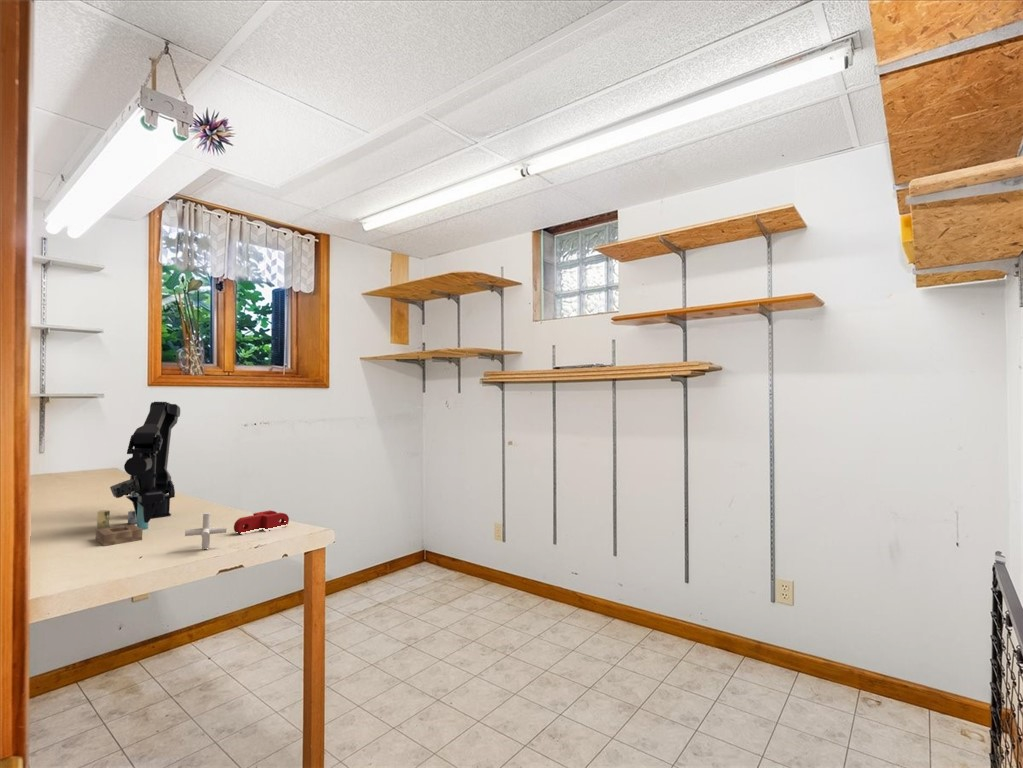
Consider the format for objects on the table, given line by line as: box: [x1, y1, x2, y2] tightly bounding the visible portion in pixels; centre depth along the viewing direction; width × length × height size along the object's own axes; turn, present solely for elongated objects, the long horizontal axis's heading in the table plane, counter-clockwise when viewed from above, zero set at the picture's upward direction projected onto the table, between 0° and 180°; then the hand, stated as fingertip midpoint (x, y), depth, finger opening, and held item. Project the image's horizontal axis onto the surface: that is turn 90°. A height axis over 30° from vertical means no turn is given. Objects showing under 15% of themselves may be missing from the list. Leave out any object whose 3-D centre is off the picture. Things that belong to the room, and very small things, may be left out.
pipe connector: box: [184, 511, 228, 550], centre depth 149 cm, size 10×10×10 cm
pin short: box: [127, 510, 137, 526], centre depth 174 cm, size 3×3×4 cm
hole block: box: [95, 524, 143, 547], centre depth 155 cm, size 9×9×3 cm
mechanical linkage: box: [233, 510, 290, 534], centre depth 170 cm, size 16×7×5 cm, turn 149°
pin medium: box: [96, 509, 111, 529], centre depth 164 cm, size 3×3×6 cm
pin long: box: [136, 501, 149, 531], centre depth 168 cm, size 3×3×9 cm
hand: (142, 520), depth 168 cm, fingers open, 7 cm apart
